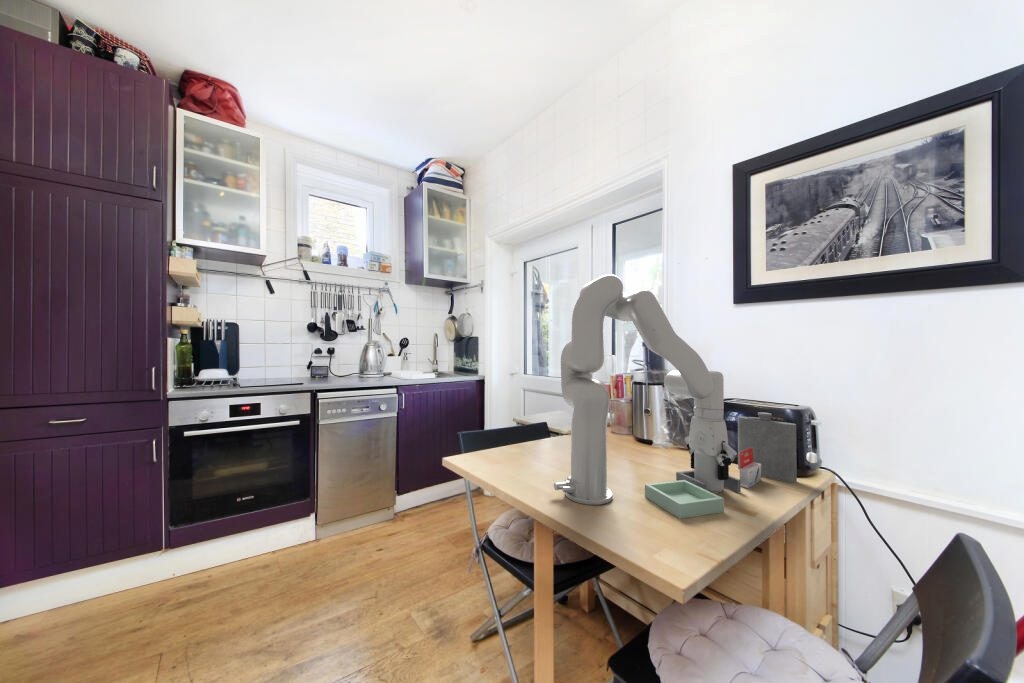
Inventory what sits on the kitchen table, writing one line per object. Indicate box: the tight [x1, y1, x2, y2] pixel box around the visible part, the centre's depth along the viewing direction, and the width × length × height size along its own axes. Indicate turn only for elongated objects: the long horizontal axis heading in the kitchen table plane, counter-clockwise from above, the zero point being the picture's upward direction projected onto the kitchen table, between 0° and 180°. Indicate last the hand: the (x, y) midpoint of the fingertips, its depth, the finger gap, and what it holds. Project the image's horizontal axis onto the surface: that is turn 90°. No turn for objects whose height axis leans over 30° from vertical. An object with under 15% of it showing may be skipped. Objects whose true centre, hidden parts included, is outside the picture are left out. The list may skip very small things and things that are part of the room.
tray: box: [644, 480, 725, 519], centre depth 92 cm, size 13×13×3 cm
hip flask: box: [737, 411, 798, 484], centre depth 115 cm, size 16×4×20 cm, turn 36°
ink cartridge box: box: [739, 447, 762, 489], centre depth 108 cm, size 2×11×10 cm, turn 129°
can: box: [693, 447, 725, 494], centre depth 103 cm, size 8×8×12 cm
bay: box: [675, 469, 742, 494], centre depth 103 cm, size 13×10×4 cm
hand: (708, 473), depth 103 cm, fingers open, 9 cm apart
